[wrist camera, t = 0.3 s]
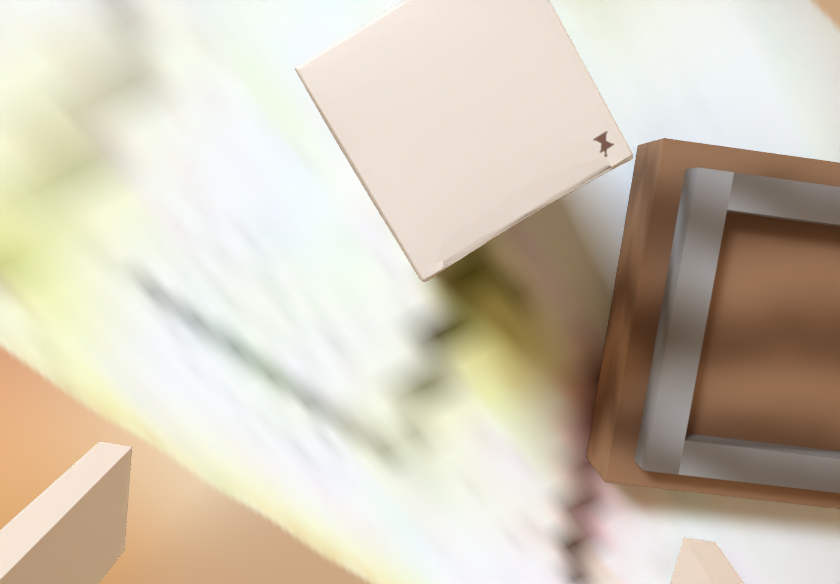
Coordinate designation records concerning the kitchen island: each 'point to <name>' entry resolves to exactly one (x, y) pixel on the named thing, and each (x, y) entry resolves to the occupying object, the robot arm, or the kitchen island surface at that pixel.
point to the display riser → (725, 328)
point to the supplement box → (463, 119)
